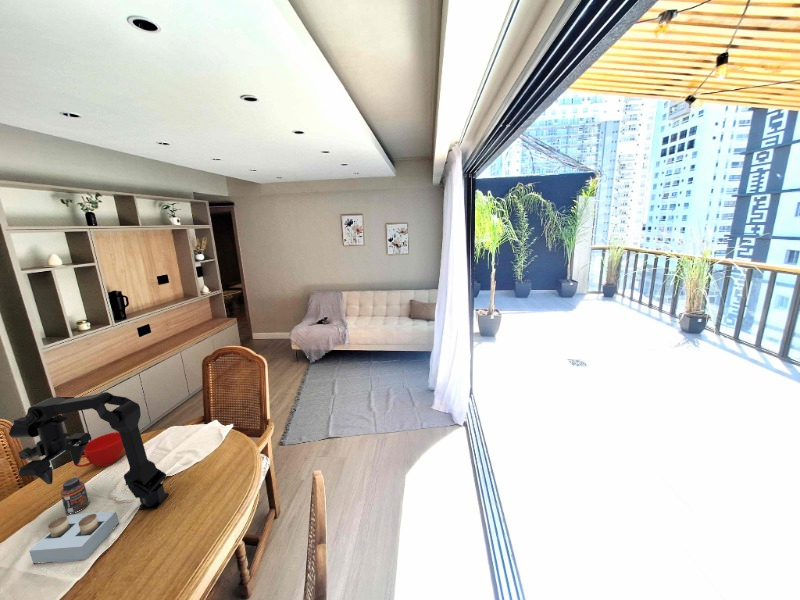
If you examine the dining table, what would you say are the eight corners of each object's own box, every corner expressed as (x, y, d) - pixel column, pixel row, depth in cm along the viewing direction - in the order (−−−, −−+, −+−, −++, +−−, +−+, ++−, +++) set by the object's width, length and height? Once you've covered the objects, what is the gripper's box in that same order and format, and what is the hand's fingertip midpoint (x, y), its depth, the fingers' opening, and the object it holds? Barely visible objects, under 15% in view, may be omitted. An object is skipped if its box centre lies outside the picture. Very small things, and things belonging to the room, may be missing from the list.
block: (119, 523, 103) (116, 511, 102) (85, 559, 92) (81, 546, 91) (73, 527, 103) (69, 514, 102) (33, 564, 91) (28, 550, 90)
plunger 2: (102, 524, 99) (99, 513, 98) (91, 535, 95) (88, 524, 94) (89, 525, 98) (86, 514, 98) (77, 536, 94) (74, 525, 94)
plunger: (73, 526, 98) (70, 515, 97) (61, 538, 94) (57, 527, 93) (60, 527, 98) (57, 516, 97) (47, 539, 94) (44, 528, 93)
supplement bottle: (74, 516, 107) (66, 489, 104) (61, 513, 108) (53, 487, 106) (93, 502, 112) (86, 476, 110) (81, 500, 114) (74, 474, 111)
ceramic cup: (68, 475, 126) (62, 454, 124) (116, 449, 142) (111, 430, 140) (88, 482, 122) (82, 460, 120) (135, 453, 138) (130, 434, 136)
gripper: (56, 420, 113) (67, 456, 116) (-7, 455, 94) (8, 497, 98) (87, 418, 113) (97, 454, 116) (31, 452, 95) (44, 494, 98)
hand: (64, 473), depth 107 cm, fingers open, 9 cm apart
